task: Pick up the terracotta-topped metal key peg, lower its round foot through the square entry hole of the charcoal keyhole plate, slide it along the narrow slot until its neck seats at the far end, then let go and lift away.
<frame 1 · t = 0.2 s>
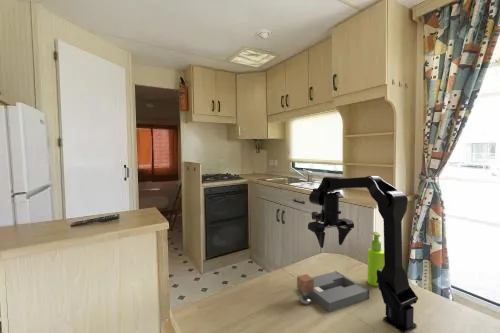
hand: (331, 246, 98), 14 cm above the table, tool pointing down, fingers open, 9 cm apart
key peg: (305, 301, 84), on the table
keyhole plate: (331, 293, 89), on the table
soap dispenser: (375, 282, 98), on the table
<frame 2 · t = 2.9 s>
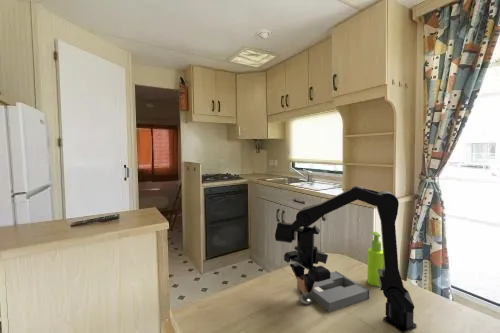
hand: (305, 288, 84), 5 cm above the table, tool pointing down, fingers closed on key peg, 4 cm apart
key peg: (305, 301, 84), on the table, touching gripper
everything else where it was.
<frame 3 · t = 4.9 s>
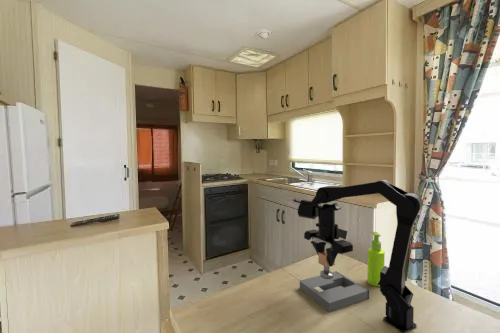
hand: (326, 263, 88), 12 cm above the table, tool pointing down, fingers closed on key peg, 4 cm apart
key peg: (326, 276, 88), point 7 cm above the table, touching gripper
everything else where it was.
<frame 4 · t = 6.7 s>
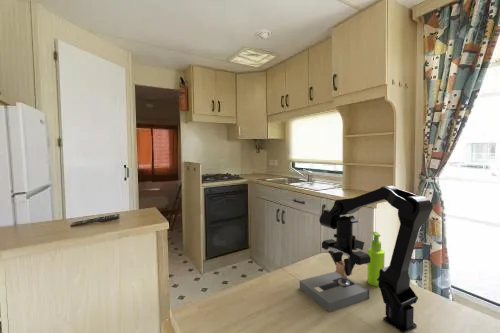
hand: (344, 273, 92), 6 cm above the table, tool pointing down, fingers closed on key peg, 4 cm apart
key peg: (343, 284, 92), point 2 cm above the table, touching gripper
everything else where it was.
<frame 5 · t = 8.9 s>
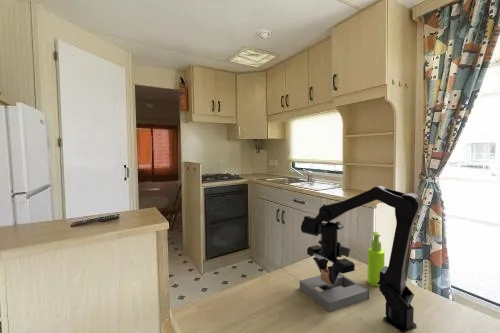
hand: (328, 280, 89), 5 cm above the table, tool pointing down, fingers closed on key peg, 4 cm apart
key peg: (328, 293, 89), resting in keyhole plate, touching gripper
everything else where it was.
when the fingers open (5 cm above the table, at t = 10.5 s): key peg stays where it is, resting in keyhole plate.
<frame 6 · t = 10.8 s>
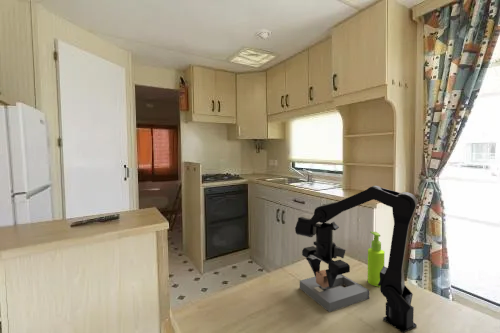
hand: (323, 282, 88), 5 cm above the table, tool pointing down, fingers open, 7 cm apart
key peg: (323, 296, 88), resting in keyhole plate
everything else where it was.
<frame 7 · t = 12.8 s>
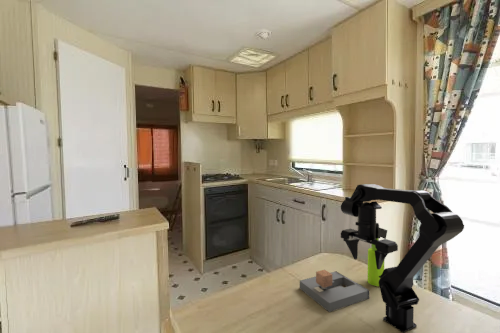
hand: (366, 263, 85), 13 cm above the table, tool pointing down, fingers open, 9 cm apart
nothing on the table moved.
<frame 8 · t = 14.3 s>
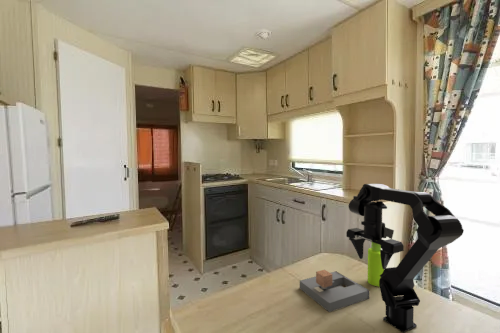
hand: (372, 263, 85), 13 cm above the table, tool pointing down, fingers open, 9 cm apart
nothing on the table moved.
at the end: key peg 0.1 cm from the target spot on the keyhole plate, point 0.0 cm above the keyhole plate's base; key peg tilted 0°; the gripper is holding nothing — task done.
